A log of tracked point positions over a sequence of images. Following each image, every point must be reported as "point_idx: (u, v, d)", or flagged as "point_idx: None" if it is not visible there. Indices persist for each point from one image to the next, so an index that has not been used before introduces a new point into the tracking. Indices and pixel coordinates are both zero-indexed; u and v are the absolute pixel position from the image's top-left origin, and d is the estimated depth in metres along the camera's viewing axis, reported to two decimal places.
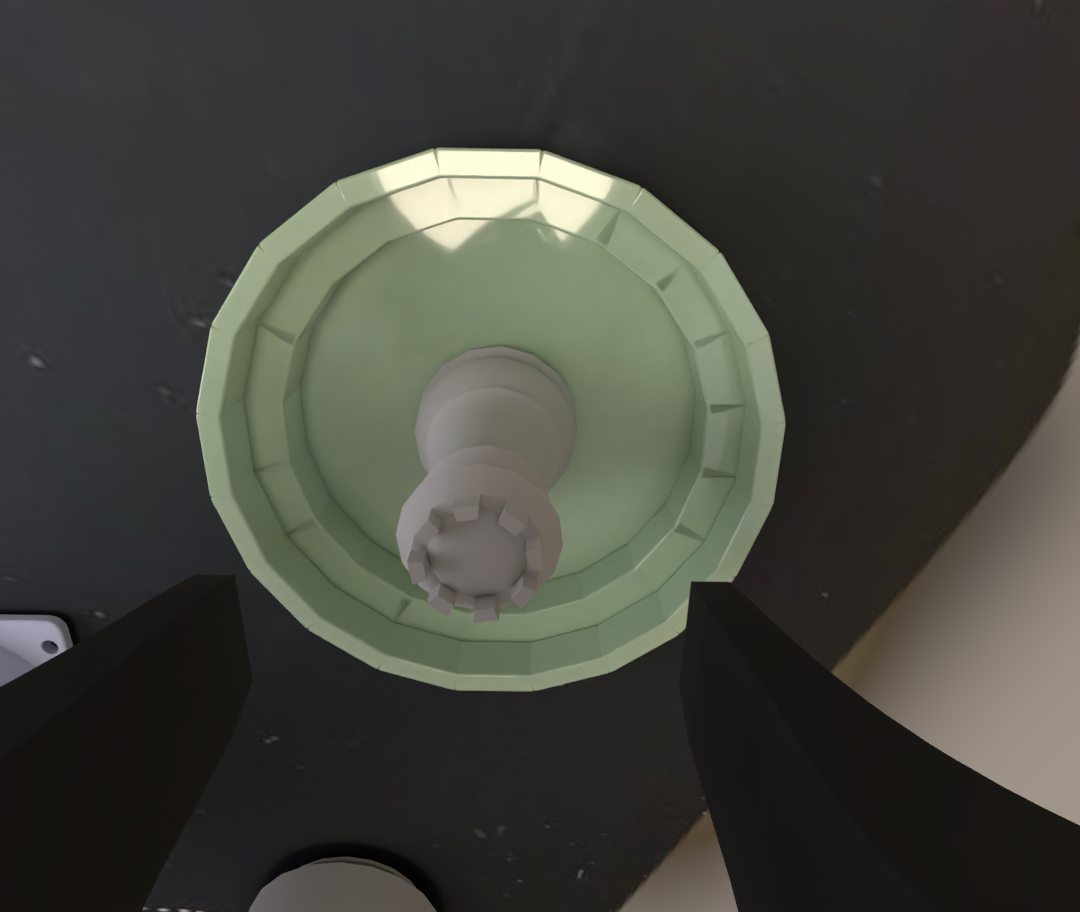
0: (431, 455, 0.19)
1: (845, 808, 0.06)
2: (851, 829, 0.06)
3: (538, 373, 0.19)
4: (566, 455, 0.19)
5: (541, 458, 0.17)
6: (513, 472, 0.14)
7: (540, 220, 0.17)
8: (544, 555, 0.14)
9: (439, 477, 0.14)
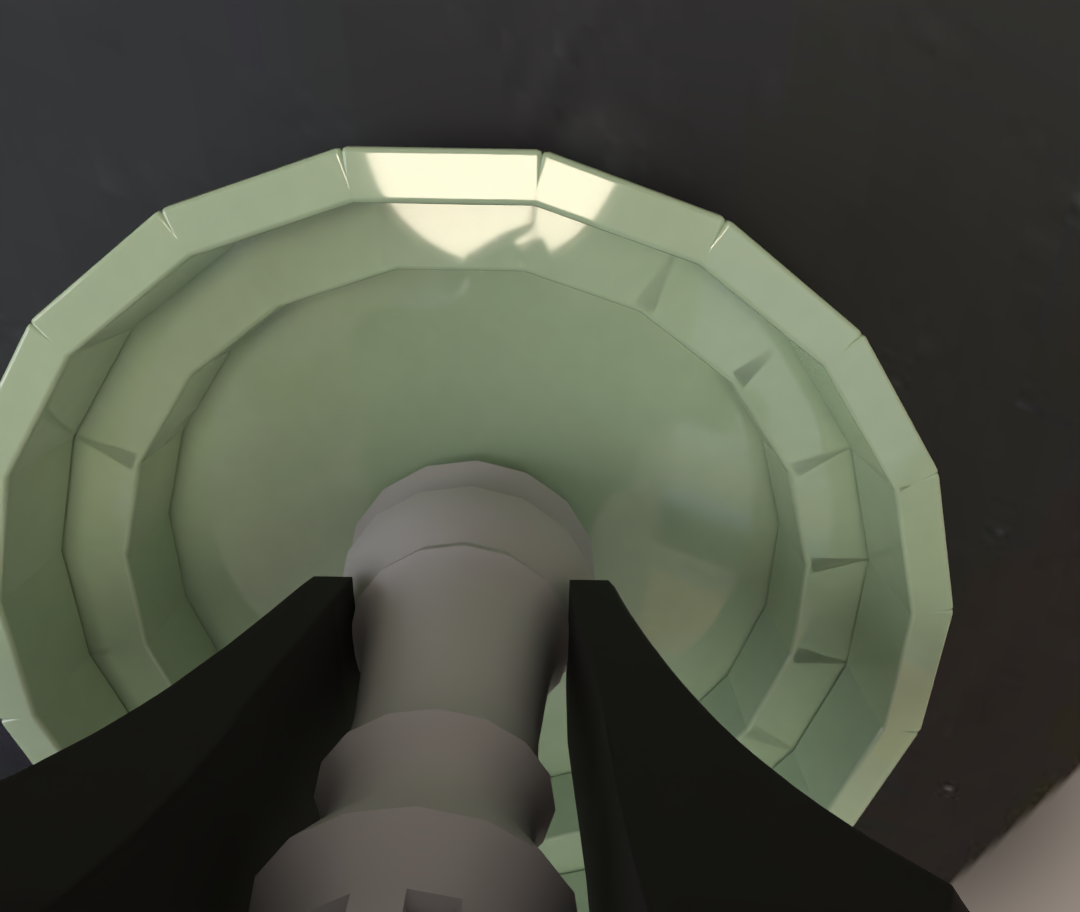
0: (360, 649, 0.11)
1: (623, 805, 0.06)
2: (622, 827, 0.06)
3: (535, 511, 0.12)
4: None
5: (539, 681, 0.10)
6: (479, 814, 0.07)
7: (539, 271, 0.10)
8: None
9: (325, 833, 0.07)
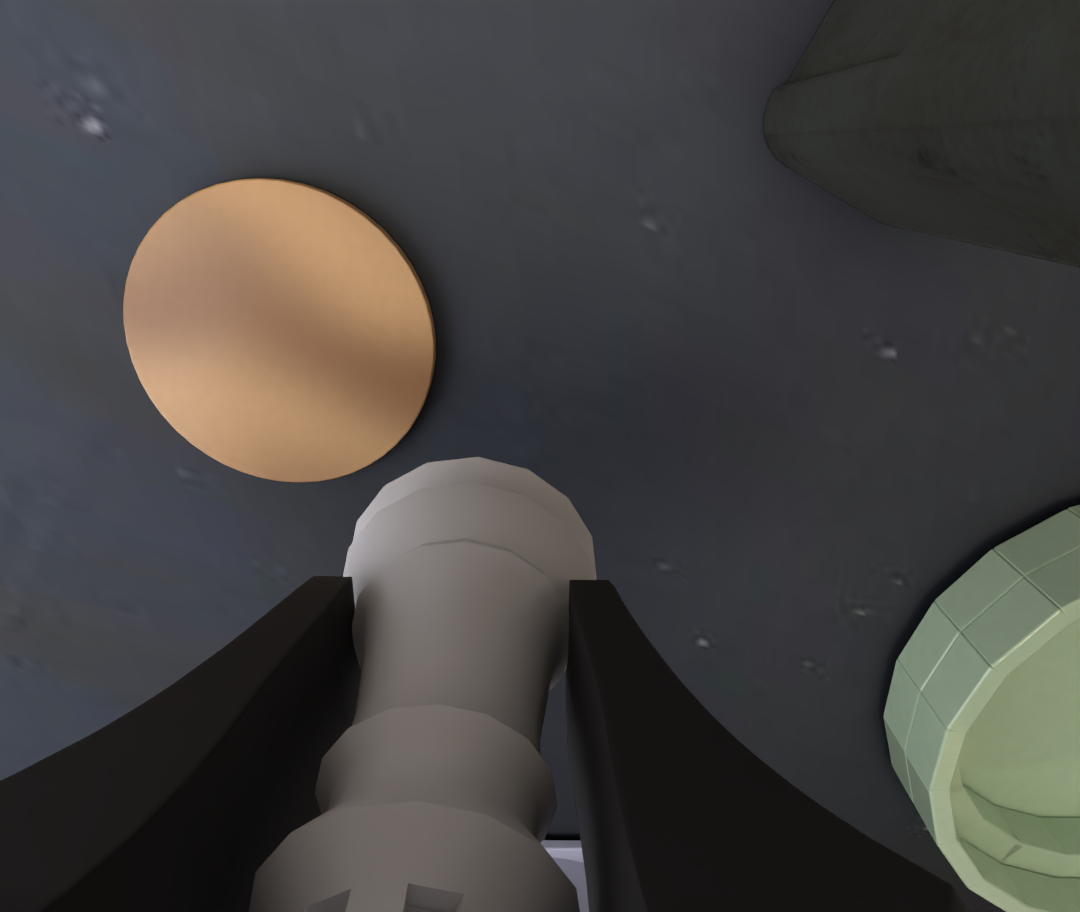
0: None
1: (622, 805, 0.06)
2: (622, 826, 0.06)
3: (536, 508, 0.12)
4: None
5: (540, 677, 0.10)
6: (480, 809, 0.07)
7: None
8: None
9: (326, 828, 0.07)
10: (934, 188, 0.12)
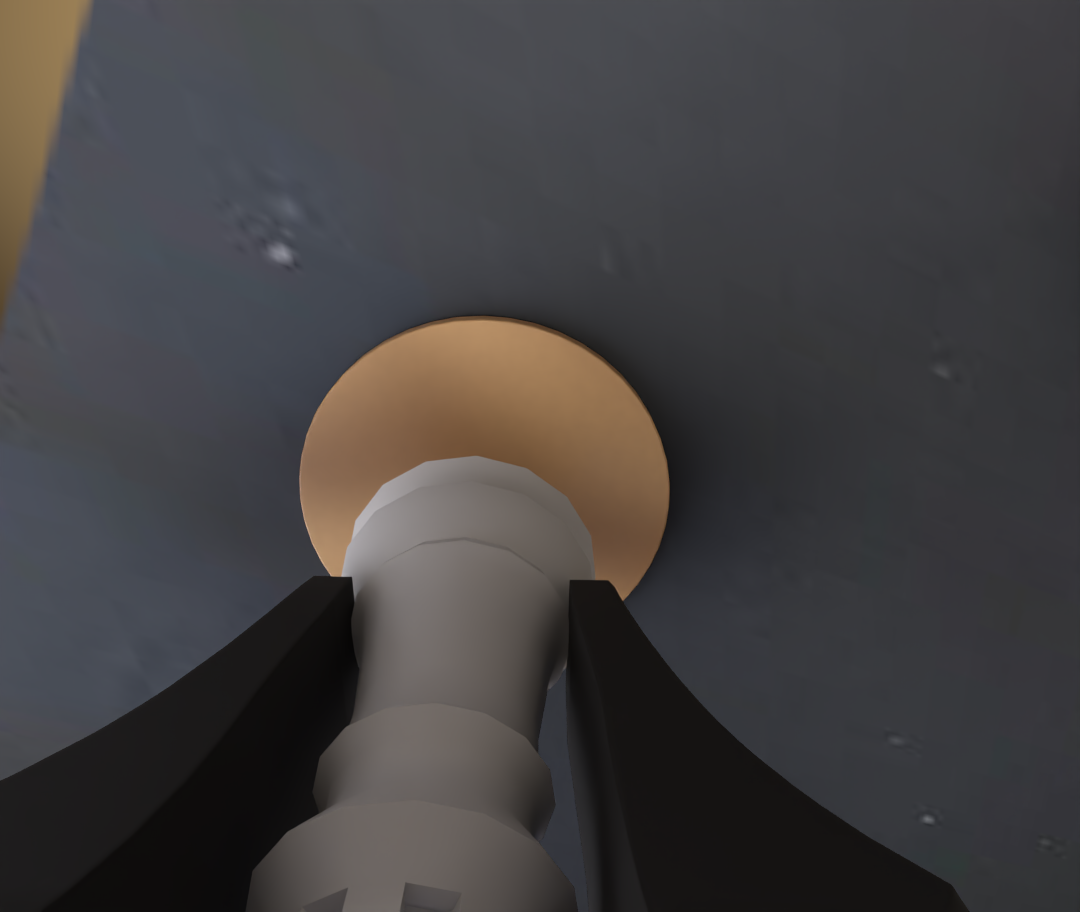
0: (359, 645, 0.11)
1: (622, 805, 0.06)
2: (622, 826, 0.06)
3: (535, 507, 0.12)
4: None
5: (539, 676, 0.10)
6: (477, 808, 0.07)
7: None
8: None
9: (323, 826, 0.07)
10: None
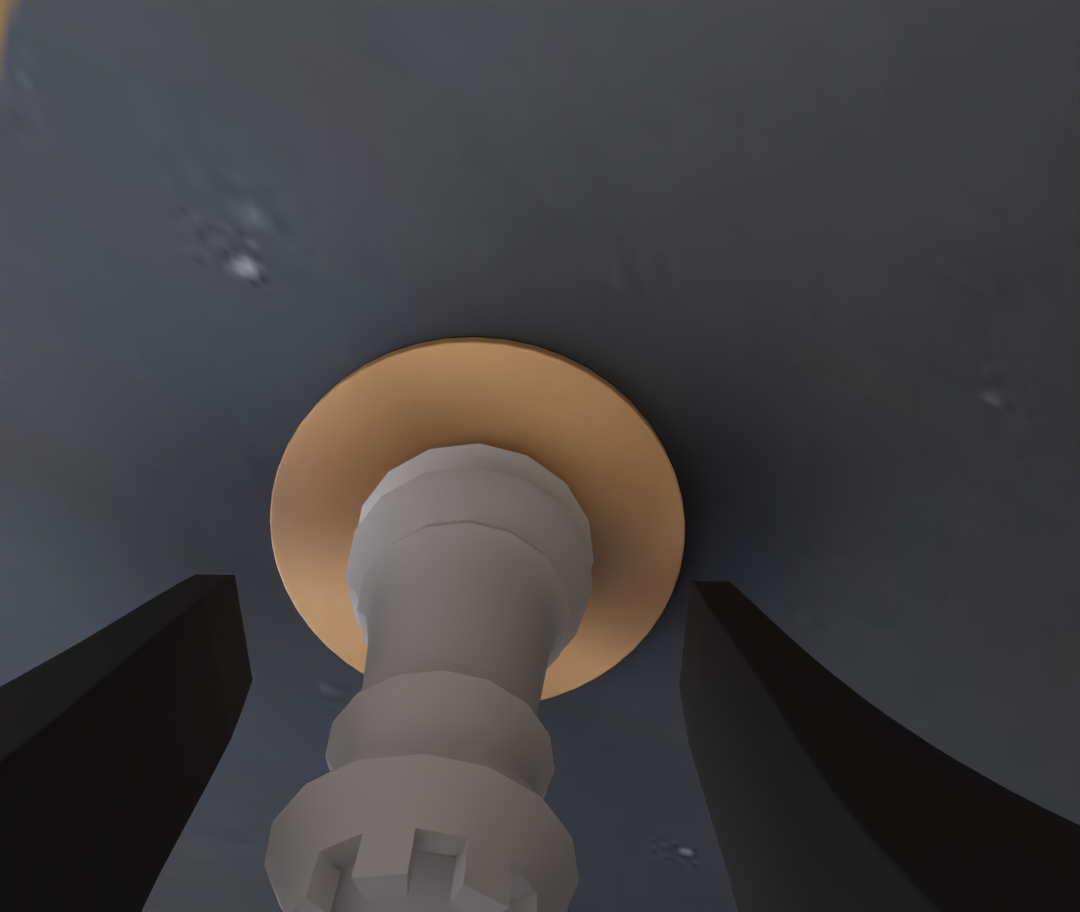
0: (366, 624, 0.12)
1: (845, 808, 0.06)
2: (851, 829, 0.06)
3: (535, 491, 0.12)
4: (578, 613, 0.13)
5: (539, 651, 0.10)
6: (483, 762, 0.07)
7: None
8: None
9: (339, 779, 0.07)
10: None
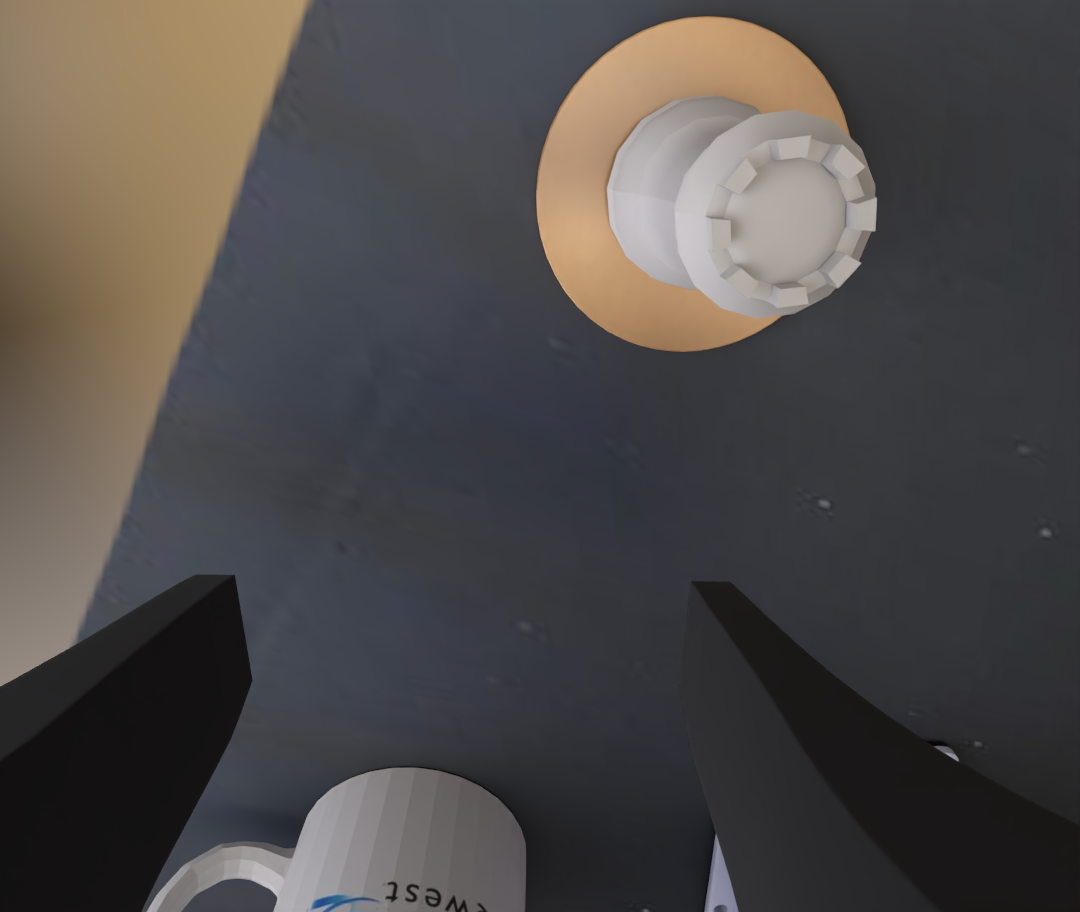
0: (645, 203, 0.16)
1: (845, 808, 0.06)
2: (852, 829, 0.06)
3: None
4: None
5: None
6: (825, 125, 0.12)
7: None
8: None
9: (741, 127, 0.12)
10: None
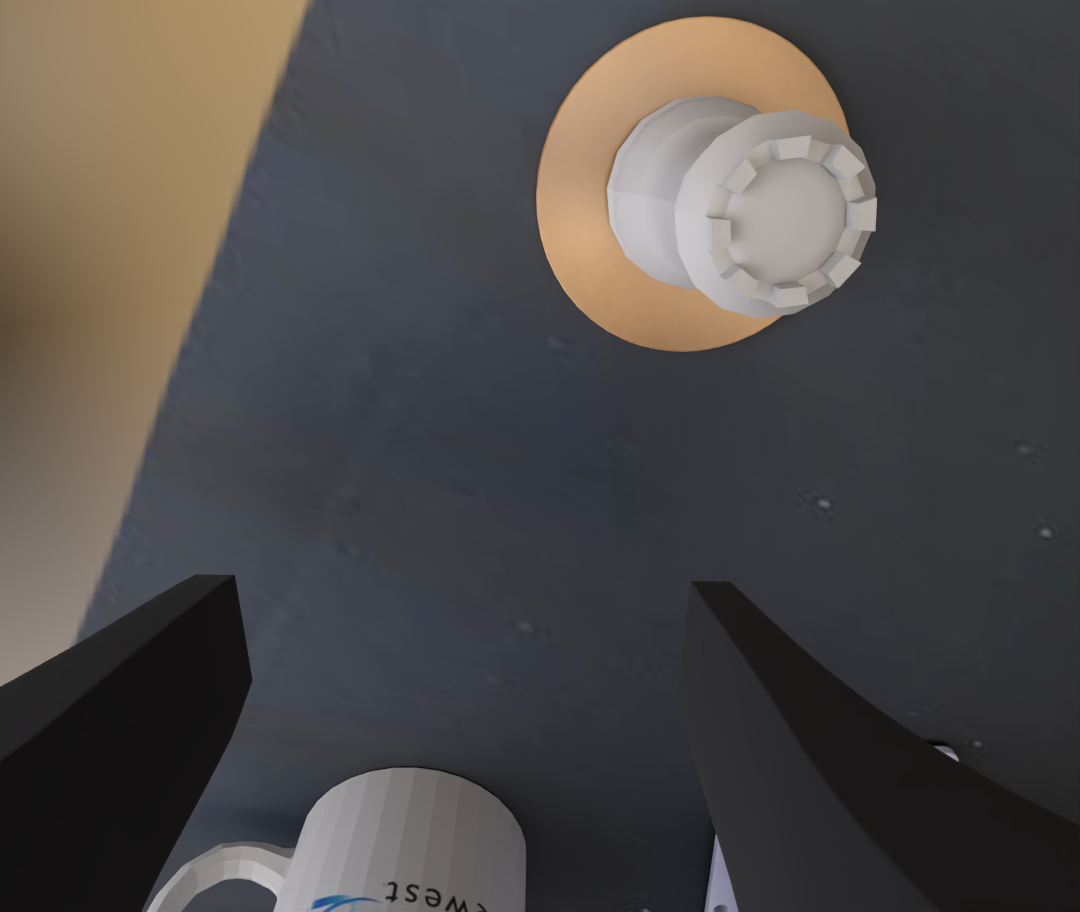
0: (645, 203, 0.16)
1: (845, 808, 0.06)
2: (852, 829, 0.06)
3: None
4: None
5: None
6: (825, 125, 0.12)
7: None
8: None
9: (741, 127, 0.12)
10: None
